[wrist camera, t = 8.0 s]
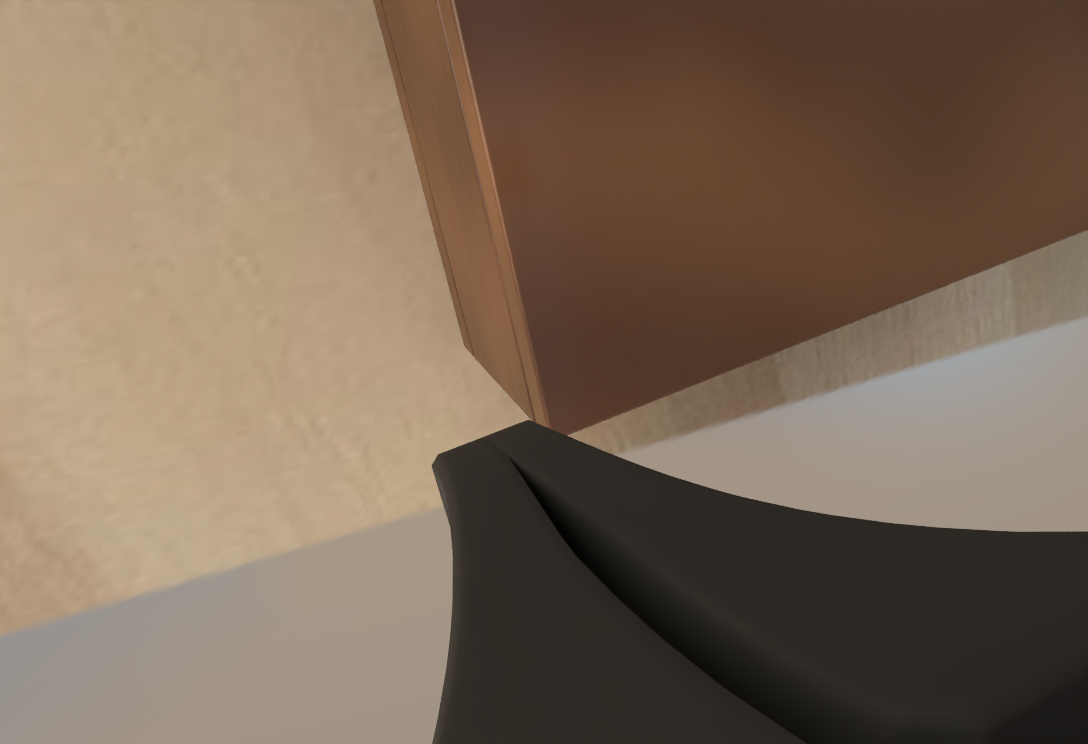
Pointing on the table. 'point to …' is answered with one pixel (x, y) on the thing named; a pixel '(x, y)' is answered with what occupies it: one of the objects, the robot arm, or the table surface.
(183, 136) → the table surface
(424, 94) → the jewel box
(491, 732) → the robot arm
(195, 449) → the table surface
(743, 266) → the lid
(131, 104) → the table surface
